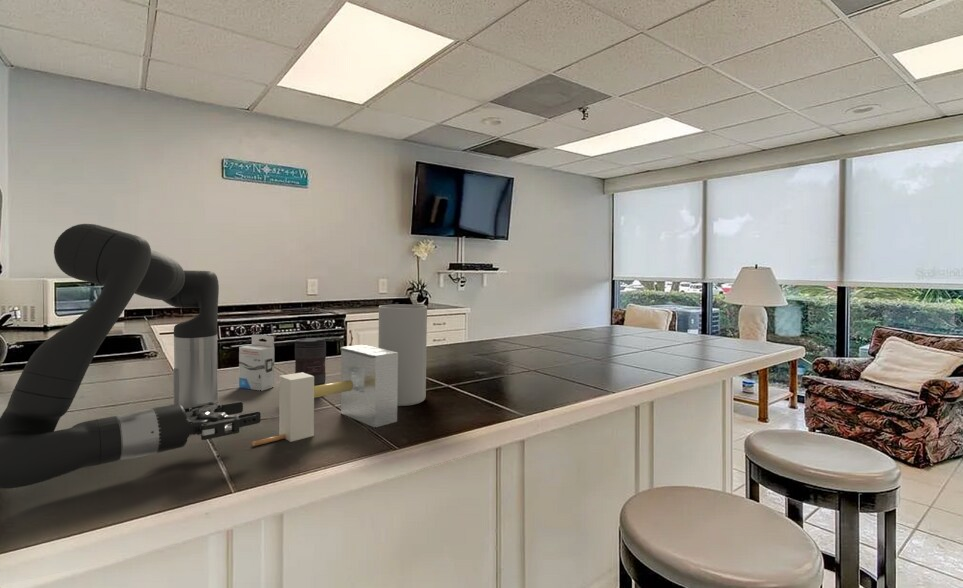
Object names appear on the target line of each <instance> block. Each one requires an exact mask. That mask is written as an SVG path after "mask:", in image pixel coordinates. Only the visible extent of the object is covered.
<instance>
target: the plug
mask: <svg viewBox="0 0 963 588" xmlns="http://www.w3.org/2000/svg"><path fill="white" fill-rule="evenodd" d="M278 377H279V381H278V382H279V383H278V385H279V386H278V387H279V388H278V389H279V390H278V392H279V393H278V394H279V395H278V397H279V398H278V399H279V401H278V403H279V406H278V407H279V413H278V414H279V416H278V418H279V419H278V421H279V422H278V423H279V427H278V429H279V433H278V434H279V435H275V436H270V437H267V438H263V439H259V440H253V441H252V442H251V446H252V447H257V446H260V445H265V444H268V443H271V442H272V443H273V442H276V441H280V440H284V439H285V440H287V441H288V442H290V443H291V442H297V441H299V440H303V439H306V438H311V437H314V436H315V398H319V397H325V396H330V395H335V394H341V392H346V391H351V390H352V389H353V383H352V381H351V380H346V381H341V380H340V381H336V382H330V383H325V384H324V385H318V386H314V376H312V375H309V374H306V373H303V372H301V373H290V374H282V375H279V376H278Z"/></svg>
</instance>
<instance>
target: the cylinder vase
mask: <svg viewBox="0 0 963 588" xmlns="http://www.w3.org/2000/svg"><path fill="white" fill-rule="evenodd" d="M427 325H428V306H427V305H422V304H421V305H420V304H405V303H403V304H396V303H395V304H394V303H393V304H382V305H379V306H378V346H377V348H381V349H385V350H390V351H394V352H398V391H397V407H406V406H409V407H410V406H415V405H418V404H420V403H422V402H424V401H425V400H426V397H427V395H426V394H427V388H426V387H427V343H428V341H427V337H428V335H427V334H428V332H427V331H428V330H427V329H428V327H427Z"/></svg>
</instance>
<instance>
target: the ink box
mask: <svg viewBox="0 0 963 588" xmlns="http://www.w3.org/2000/svg"><path fill="white" fill-rule="evenodd" d="M262 339H263V340H265V341H262ZM238 350H239V351H238V362H239V363H238V388H241V389H247V390H256V391H260V390H261V392H262V391H266V390H268V389H271V388H272V387H273V388H275V337H274V336H273V335H263V334H251V344H250V345H244V346H239V347H238Z"/></svg>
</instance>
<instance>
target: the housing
mask: <svg viewBox="0 0 963 588" xmlns="http://www.w3.org/2000/svg"><path fill="white" fill-rule="evenodd" d="M339 351H341V355H340V356H341V357H340V358H341V359H340V360H341V363H340V364H341V365H340V366H341V368H340V369H341V371H340V373H341V375H340V376H341V379H340V382H341V381H346V380H351V381H352V383H353V389H352V390H351V391H346V392H341V393H340V400H341V401H340V413H341V414H342V415H344V416H346V417H348V418H351V419H354V420H356V421H359V422H361V423H363V424H365V425H368V426H370V427H373V428H375V427H376V428H379V427H383V426H385V425H389V424H394V423H397V422H398V406H397V391H398V352H394V351H390V350H385V349H381V348H378V347H376V346H372V345H371V346H370V345H367V344H356V345H347V346H341V347H340V348H339Z"/></svg>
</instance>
